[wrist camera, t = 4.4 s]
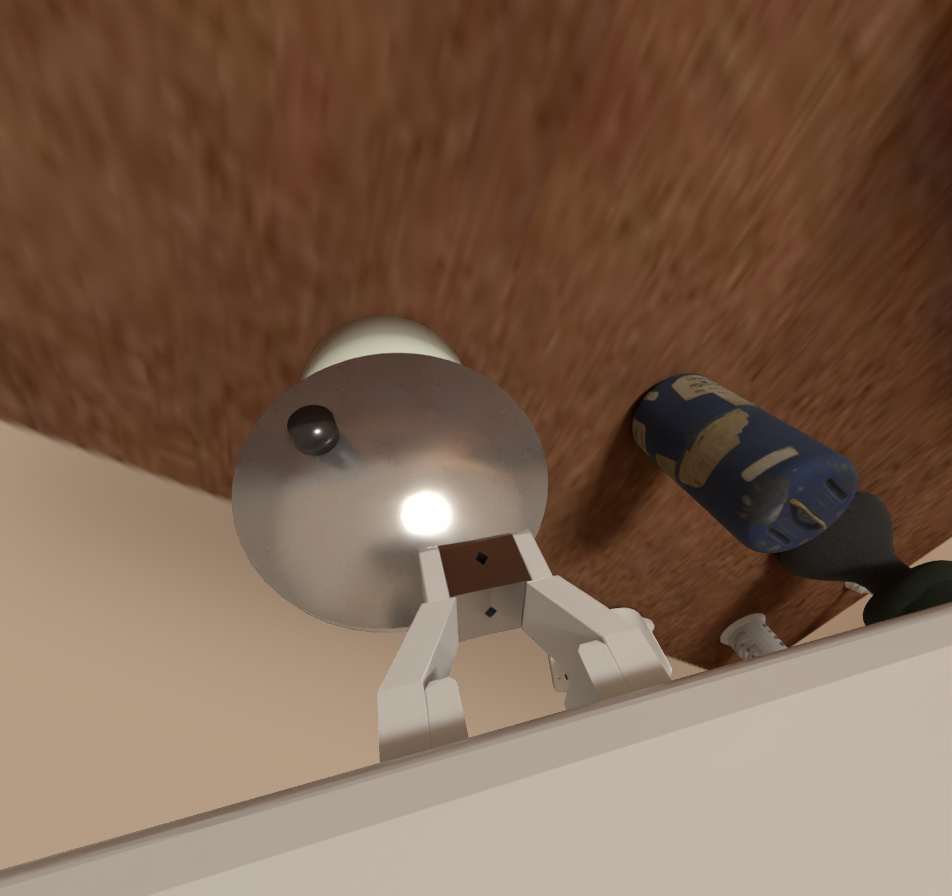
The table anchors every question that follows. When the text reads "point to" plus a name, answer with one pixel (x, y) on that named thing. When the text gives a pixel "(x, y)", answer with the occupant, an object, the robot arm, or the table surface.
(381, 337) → the pot
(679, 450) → the canister
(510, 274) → the table surface
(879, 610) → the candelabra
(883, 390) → the table surface
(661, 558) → the table surface
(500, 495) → the lid
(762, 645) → the french press
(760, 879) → the robot arm
